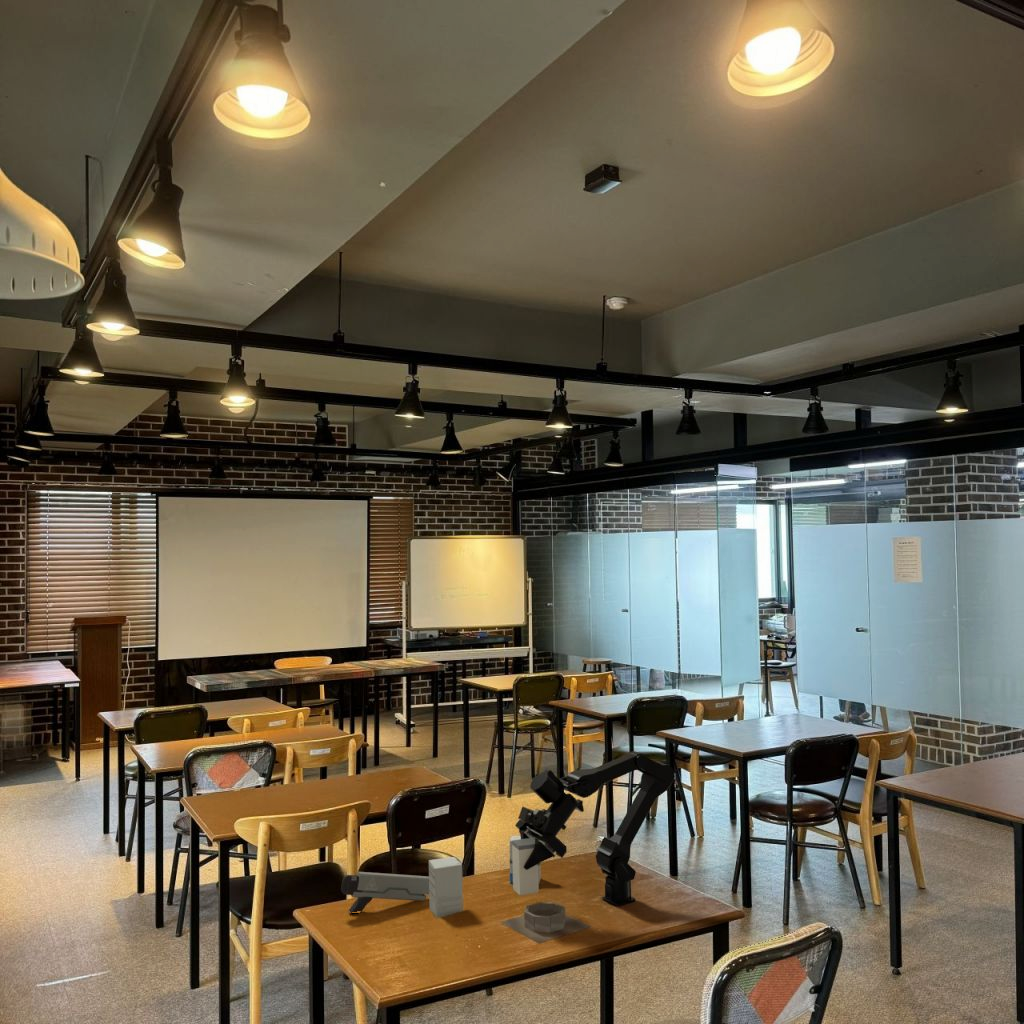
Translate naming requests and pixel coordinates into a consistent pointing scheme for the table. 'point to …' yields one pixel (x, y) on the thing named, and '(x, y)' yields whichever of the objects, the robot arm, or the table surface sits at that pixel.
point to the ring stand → (544, 922)
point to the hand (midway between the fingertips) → (520, 865)
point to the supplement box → (445, 886)
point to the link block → (523, 878)
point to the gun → (383, 887)
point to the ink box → (512, 862)
